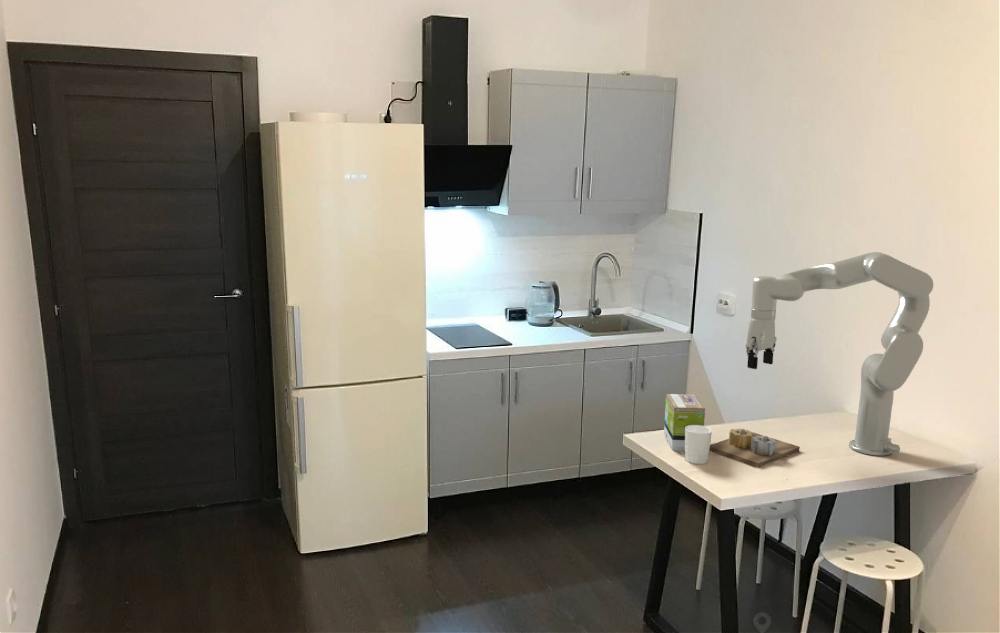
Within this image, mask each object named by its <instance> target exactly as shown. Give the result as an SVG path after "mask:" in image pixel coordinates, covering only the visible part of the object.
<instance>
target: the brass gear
mask: <svg viewBox="0 0 1000 633" xmlns="http://www.w3.org/2000/svg"><path fill="white" fill-rule="evenodd" d="M739 429H740V428H735V429H733V428H732V429H730V431H729V433H728V434H729V435H728V439H729V444H732V445H733V447H741V448H748V447H749V448H751V440H752V437H754V433H755V432H754V433H751V432H752V431H751V432H750V430H749V429H745V434H739Z"/></svg>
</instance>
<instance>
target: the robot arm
mask: <svg viewBox="0 0 1000 633" xmlns="http://www.w3.org/2000/svg"><path fill="white" fill-rule="evenodd" d="M871 281H875V282H877V283H879V284H881V285H883V286H885V287H887V288H889V289H891V290H894V291H896V292H897V294H898V300H899V301H898V306H897V307H896V310H895V311H894V314H893V316H892V317H891V319H890V321H889V323H888V324H887V326H886V328H885V329H884V331H883V332H882V335H881V337H880V343H881V345H882V347H883V349H884V350H885V351H884V353H873V354H870V355H868V356H867V357H865V359H864V360H863V362H862V364H861V370H860V392H859V393H860V395H859V403H858V411H857V419H856V426H855V427H856V428H855V435H854V436H855V437H854V439H852V440H849V442H848V447H849V448H851V449H852V450H853V451H855V452H857V453H860V454H865V455H869V456H870V455H871V456H877V457H880V456H882V457H884V456H889V455H891V454H892V452H894V453H899V454H900V452H901V447H900V445H899V444H895V443H893V442H892V438H891V437H889V435H890V434H889V432H890V426H891V418H892V410H893V404H894V393H895V392H894V391H897V390H899V389H900V388H901V387H903V385H904V384H905V383H906V382H907V380H908V378H909V377H910V375H911V373H912V371H913V370H914V369H915V366H916V365H917V363H918V361H919V359H920V358H921V355H922V353H923V350H924V341H923V339H922V338H923V337H922V336H921V335H920V334H919V333H920V331H921V328H922V327H923V324H924V322H925V320H926V319H927V316H928V314H929V310H930V294H931V293H932V291H933V290H934V281H933V278H932V277H931V275H929V274H928V273H926V272H925V271H923V270H921V269H918V268H916V267H914V266H911V265H909V264H908V263H905V262H903V261H901V260H898V259H897V258H895V257H893V256H891V255H889V254H886V253H882V252H878V251H874V252H869V253H865V254H861V255H857V256H854V257H850V258H846V259H842V260H839V261H834V262H832V263H826V264H821V265H816V266H811V267H807V268H802V269H800V270H796V271H791V272H789V273H784V274H782V275H780V276H779V277H778V278H776V277H774V276H766V275H762V276H761V275H760V276H755V277H754V278H753V281H752V294H751V295H752V296H751V309H750V311H751V313H750V321H749V325H748V330H747V337H746V344H745V348H746V350H745V351H746V355H747V365H746V366H747V368H748V369H751V370H757V369H758V364H759V362H758V359H759V357H757V356H758V355H759V352H760V351H763V350H764V351H763V354H762V355H763V358H762V363H763V364H767V365H773V364H774V360H773V359H774V352H775V347H776V342H777V340H778V339H777V336H776V322H775V321H776V317H777V316H776V315H777V314H776V313H777V312H776V311H777V300H780V301H785V302H796V301H799V300H800V299H801V298H802V297H803V296H804V294H805V293H806V292H810V291H815V290H841V289H844V288H845V289H846V288H848V287H852V286H856V285H859V284H863V283H867V282H871Z"/></svg>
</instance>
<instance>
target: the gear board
mask: <svg viewBox="0 0 1000 633" xmlns="http://www.w3.org/2000/svg"><path fill="white" fill-rule="evenodd" d="M738 429H739V434H745V430H746V429H744V428H738ZM749 431H750V430H749ZM750 432H751V433H754V437H756V436H757V435H758V436H761V441H767V436H768V435H763V434H760V433H756V432H753V431H750ZM774 439H775V441H777V445H776V454H773V455H772V456H768V455H763V456H762V455H760V454H757V453H753V452H752V450H751V448H749V447H748V448H741V447H733V445H732V444H729V438H726V439H724V440H721V441H717V442H715V443H712V444H710V449H709V452H710V453H714V454H717V455H719V456H722V457H725V458H728V459H731V460H734V461H737V462H739V463H742V464H746V465H748V466H750V467H754V468H757V469H759V468H760V467H764V466H766V465H768V464H771V463H774V462H776V461H778V459H779V460H781V459H783V458H785V457H788V456H791V455H794V454H795V453H798V452H800V446H798V445H795V444H792V443H788V442H786V441H782V440H779V439H777V438H774Z"/></svg>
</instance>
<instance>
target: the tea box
mask: <svg viewBox="0 0 1000 633" xmlns="http://www.w3.org/2000/svg"><path fill="white" fill-rule="evenodd" d="M705 412H706V408H705V406H704V405H703V404H702V402H701V401H700V399H699V398H698V397H697V395H696V394H693V393H690V394H689V393H688V394H686V393H684V394H681V393H679V394H678V393H666V394H665V409H664V428H663V434H664V437H665V438H666V441H667V443H668V445H669V447H670V448H671V451H683V452H685V427H686V426H689V425H700V426H705V415H706V413H705Z"/></svg>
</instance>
